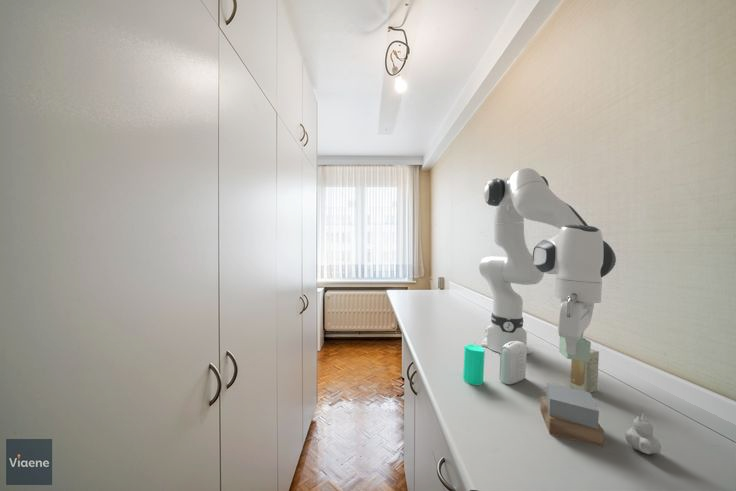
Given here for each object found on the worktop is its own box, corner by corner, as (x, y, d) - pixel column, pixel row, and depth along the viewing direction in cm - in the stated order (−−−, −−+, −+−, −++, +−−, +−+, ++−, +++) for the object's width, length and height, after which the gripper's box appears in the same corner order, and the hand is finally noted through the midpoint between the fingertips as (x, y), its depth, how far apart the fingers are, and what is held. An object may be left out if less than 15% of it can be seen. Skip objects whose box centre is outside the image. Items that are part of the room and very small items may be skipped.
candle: (469, 385, 85) (471, 346, 85) (459, 376, 91) (461, 339, 91) (487, 384, 86) (488, 345, 86) (476, 375, 92) (477, 339, 92)
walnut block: (540, 411, 74) (540, 396, 74) (586, 421, 70) (586, 406, 70) (549, 435, 64) (550, 418, 64) (602, 448, 61) (603, 430, 61)
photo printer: (514, 373, 95) (516, 337, 94) (527, 378, 91) (529, 341, 91) (497, 380, 89) (498, 342, 89) (510, 386, 85) (512, 346, 85)
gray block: (546, 397, 73) (546, 382, 73) (589, 408, 69) (589, 392, 69) (549, 415, 65) (550, 398, 65) (598, 429, 61) (598, 411, 61)
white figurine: (655, 447, 61) (656, 411, 61) (665, 467, 56) (667, 428, 55) (622, 437, 64) (623, 403, 64) (628, 455, 59) (630, 417, 58)
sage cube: (559, 351, 69) (560, 333, 69) (579, 354, 68) (580, 336, 68) (567, 358, 65) (568, 339, 65) (589, 361, 64) (590, 342, 64)
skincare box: (582, 384, 89) (584, 346, 89) (598, 391, 85) (600, 351, 85) (569, 386, 87) (571, 347, 87) (583, 394, 83) (586, 353, 82)
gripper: (588, 299, 57) (584, 366, 57) (598, 290, 71) (595, 344, 71) (551, 294, 61) (548, 356, 61) (568, 287, 76) (566, 337, 76)
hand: (574, 349), depth 66 cm, fingers closed on sage cube, 6 cm apart
